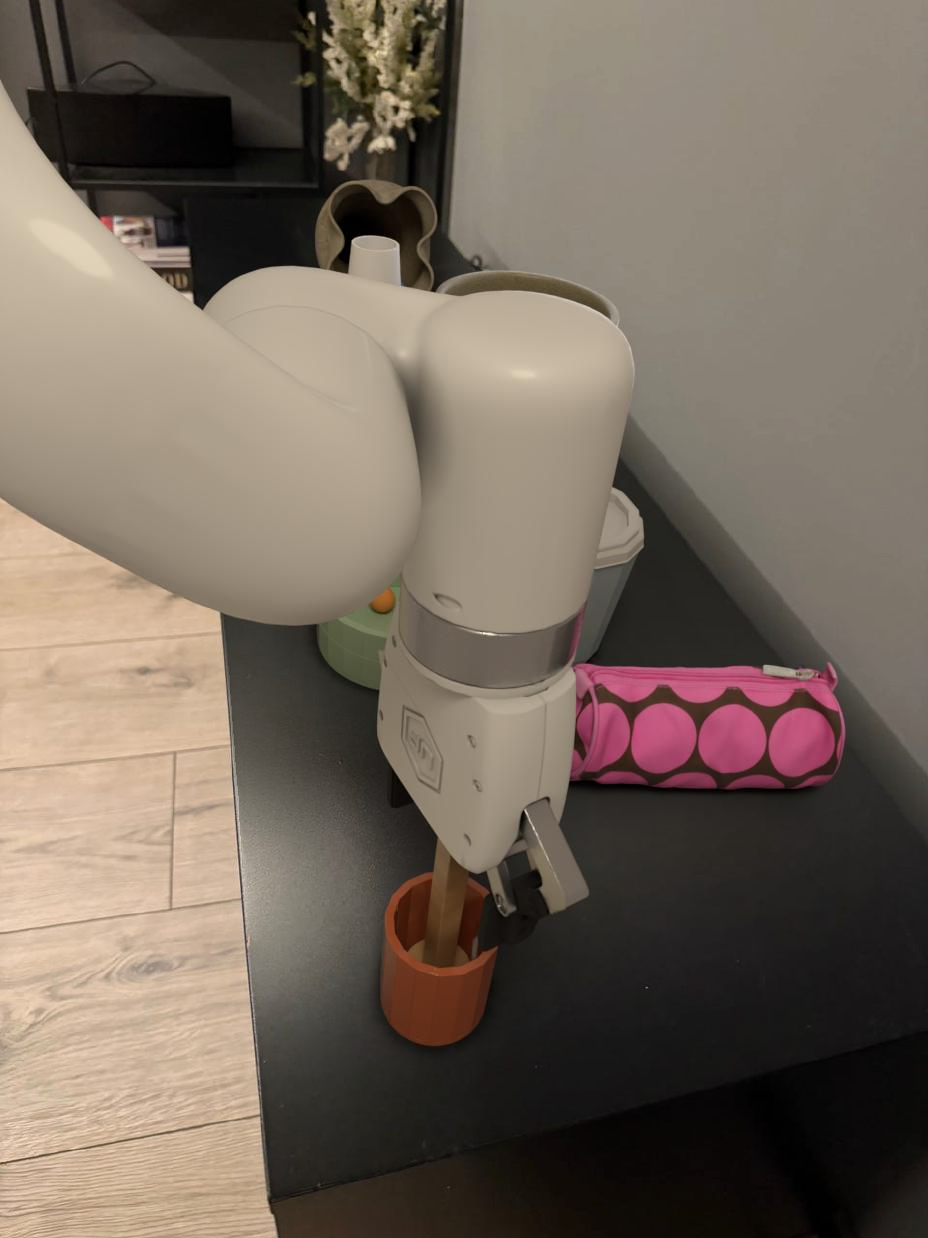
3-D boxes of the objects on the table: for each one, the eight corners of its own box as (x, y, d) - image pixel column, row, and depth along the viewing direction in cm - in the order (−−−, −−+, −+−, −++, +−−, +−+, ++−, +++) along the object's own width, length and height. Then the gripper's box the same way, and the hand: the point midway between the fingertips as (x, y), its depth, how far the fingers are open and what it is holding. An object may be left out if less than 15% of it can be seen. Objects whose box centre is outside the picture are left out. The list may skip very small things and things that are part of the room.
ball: (375, 620, 83) (376, 599, 82) (364, 605, 85) (364, 584, 83) (399, 613, 84) (400, 593, 83) (387, 598, 86) (388, 578, 84)
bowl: (360, 713, 75) (361, 658, 71) (291, 610, 84) (290, 557, 80) (508, 663, 81) (517, 611, 78) (430, 573, 91) (434, 522, 87)
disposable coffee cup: (628, 684, 81) (669, 544, 71) (509, 689, 79) (534, 545, 69) (597, 608, 89) (629, 472, 79) (487, 610, 87) (507, 472, 77)
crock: (411, 1066, 54) (420, 996, 48) (361, 972, 58) (365, 898, 53) (506, 1015, 56) (524, 944, 51) (452, 929, 61) (464, 855, 56)
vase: (268, 170, 148) (300, 171, 124) (396, 147, 153) (450, 144, 129) (299, 309, 158) (334, 334, 135) (418, 283, 163) (472, 304, 140)
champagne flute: (406, 464, 106) (420, 252, 91) (353, 475, 103) (358, 257, 88) (382, 437, 111) (391, 230, 95) (329, 446, 108) (330, 234, 93)
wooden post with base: (420, 1034, 55) (442, 868, 44) (388, 975, 57) (402, 806, 47) (480, 1003, 56) (515, 837, 46) (446, 947, 59) (472, 778, 49)
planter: (606, 515, 102) (646, 342, 89) (438, 521, 98) (454, 340, 85) (558, 431, 116) (587, 271, 104) (409, 433, 112) (420, 267, 99)
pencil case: (779, 717, 80) (819, 628, 73) (827, 806, 72) (875, 716, 66) (538, 722, 76) (557, 629, 70) (561, 816, 69) (585, 722, 63)
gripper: (320, 521, 42) (324, 773, 53) (531, 789, 31) (481, 1038, 41) (463, 487, 45) (439, 731, 56) (700, 719, 34) (612, 966, 45)
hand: (457, 861), depth 49 cm, fingers open, 9 cm apart
